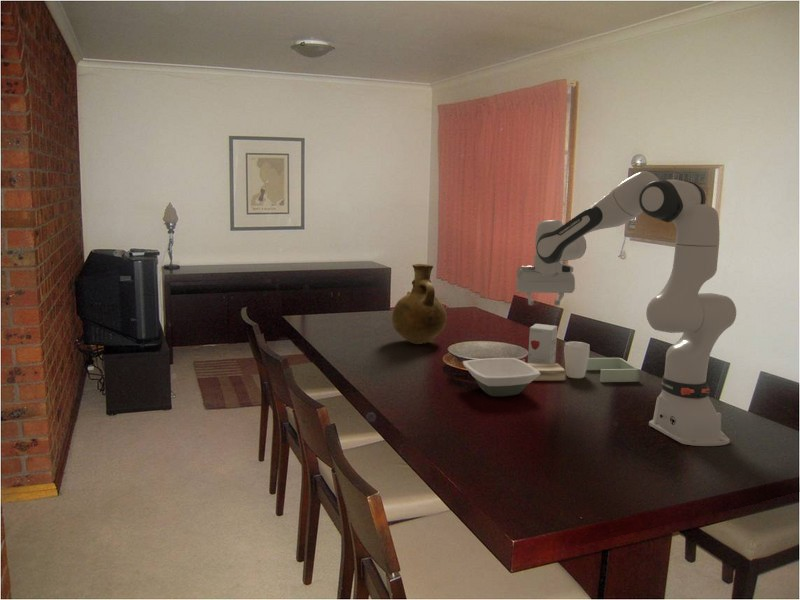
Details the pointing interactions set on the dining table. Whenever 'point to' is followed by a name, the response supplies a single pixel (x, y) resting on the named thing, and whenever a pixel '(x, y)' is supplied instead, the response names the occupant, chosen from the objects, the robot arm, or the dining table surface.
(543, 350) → the supplement box
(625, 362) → the tray
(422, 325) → the vase
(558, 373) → the board
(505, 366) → the bowl
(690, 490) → the dining table surface
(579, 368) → the cup
